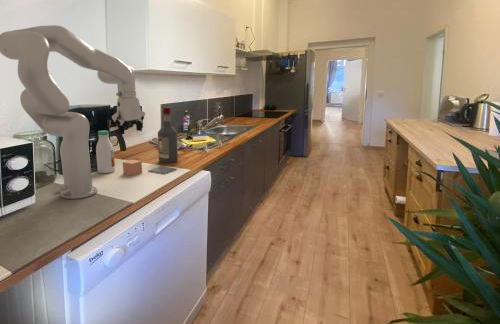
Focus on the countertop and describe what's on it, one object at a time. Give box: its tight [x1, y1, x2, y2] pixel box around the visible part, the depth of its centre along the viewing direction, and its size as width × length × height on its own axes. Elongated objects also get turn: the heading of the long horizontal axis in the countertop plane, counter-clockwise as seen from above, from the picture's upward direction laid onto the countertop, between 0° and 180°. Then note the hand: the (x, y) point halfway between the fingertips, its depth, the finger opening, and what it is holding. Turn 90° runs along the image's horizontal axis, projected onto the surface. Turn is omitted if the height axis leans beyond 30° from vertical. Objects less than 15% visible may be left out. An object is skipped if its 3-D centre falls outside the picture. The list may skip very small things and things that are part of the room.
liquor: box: [157, 106, 179, 164], centre depth 171 cm, size 9×9×30 cm
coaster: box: [147, 165, 177, 175], centre depth 155 cm, size 10×10×1 cm
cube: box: [122, 159, 143, 177], centre depth 148 cm, size 6×6×6 cm
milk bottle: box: [95, 130, 116, 174], centre depth 148 cm, size 8×8×20 cm
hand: (130, 132), depth 144 cm, fingers open, 9 cm apart
